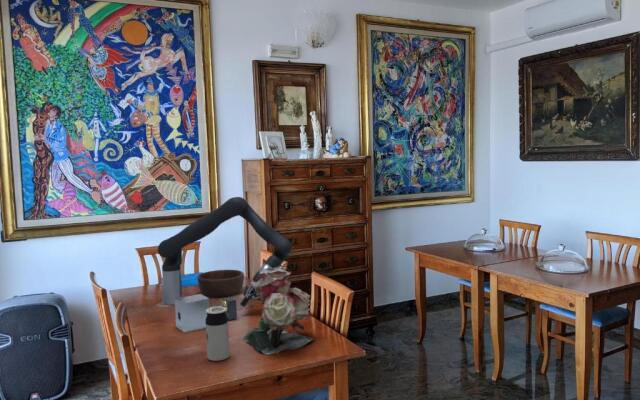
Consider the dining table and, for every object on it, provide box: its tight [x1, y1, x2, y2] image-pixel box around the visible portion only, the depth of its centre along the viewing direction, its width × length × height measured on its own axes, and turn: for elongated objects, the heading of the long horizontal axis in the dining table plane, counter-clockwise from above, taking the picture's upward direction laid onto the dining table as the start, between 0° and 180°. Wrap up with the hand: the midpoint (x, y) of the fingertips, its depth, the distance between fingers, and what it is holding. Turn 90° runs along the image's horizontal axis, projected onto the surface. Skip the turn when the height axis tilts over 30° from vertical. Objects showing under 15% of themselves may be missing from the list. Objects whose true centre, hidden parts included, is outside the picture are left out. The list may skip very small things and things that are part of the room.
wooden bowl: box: [197, 269, 245, 298], centre depth 283 cm, size 25×25×10 cm
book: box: [161, 271, 204, 288], centre depth 308 cm, size 17×4×25 cm
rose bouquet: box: [242, 264, 315, 356], centre depth 205 cm, size 26×29×30 cm
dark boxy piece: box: [210, 296, 238, 321], centre depth 232 cm, size 18×6×8 cm, turn 124°
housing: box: [174, 293, 211, 334], centre depth 226 cm, size 12×10×12 cm
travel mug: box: [205, 306, 230, 362], centre depth 190 cm, size 8×8×18 cm
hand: (242, 305), depth 240 cm, fingers closed
